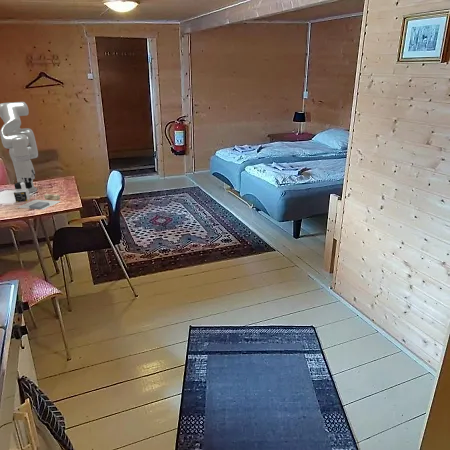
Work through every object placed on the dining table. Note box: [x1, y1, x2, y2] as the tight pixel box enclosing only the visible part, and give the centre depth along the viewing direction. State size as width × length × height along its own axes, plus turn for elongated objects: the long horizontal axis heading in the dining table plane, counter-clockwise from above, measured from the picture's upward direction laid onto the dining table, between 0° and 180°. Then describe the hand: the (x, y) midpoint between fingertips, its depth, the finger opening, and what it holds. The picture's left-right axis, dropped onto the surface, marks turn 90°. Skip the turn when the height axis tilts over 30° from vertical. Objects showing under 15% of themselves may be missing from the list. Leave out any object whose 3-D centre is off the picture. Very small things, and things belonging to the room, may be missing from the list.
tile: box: [28, 202, 49, 210], centre depth 247 cm, size 2×8×8 cm
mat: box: [16, 199, 61, 210], centre depth 252 cm, size 20×16×1 cm
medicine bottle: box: [13, 182, 31, 203], centre depth 261 cm, size 7×7×12 cm
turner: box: [43, 193, 61, 201], centre depth 260 cm, size 16×5×4 cm, turn 72°
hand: (29, 188), depth 245 cm, fingers closed
